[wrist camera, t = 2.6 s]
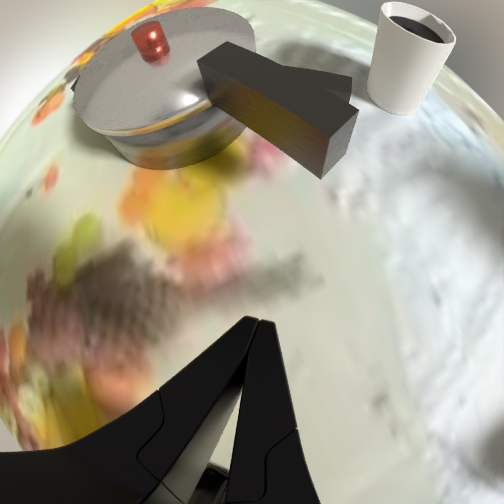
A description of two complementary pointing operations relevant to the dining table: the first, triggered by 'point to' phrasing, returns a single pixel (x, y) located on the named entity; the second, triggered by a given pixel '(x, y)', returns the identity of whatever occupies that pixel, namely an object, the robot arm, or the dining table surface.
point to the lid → (210, 86)
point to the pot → (203, 131)
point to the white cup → (406, 57)
